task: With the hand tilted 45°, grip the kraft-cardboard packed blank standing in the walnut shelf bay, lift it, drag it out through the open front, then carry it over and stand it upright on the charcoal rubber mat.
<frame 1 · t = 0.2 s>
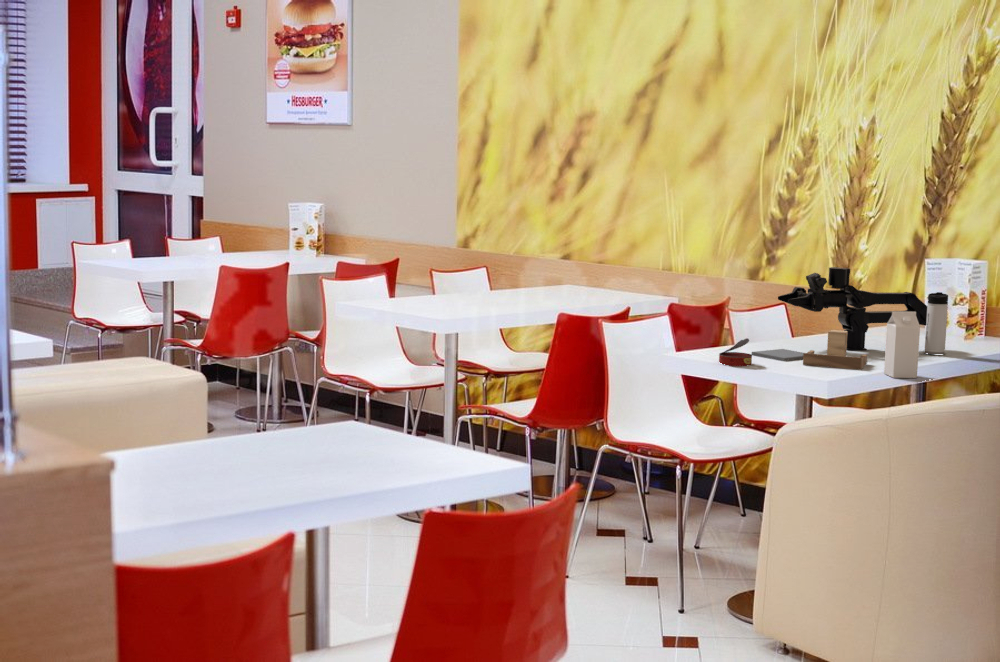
hand: (783, 299, 419), 17 cm above the table, tool horizontal, fingers open, 9 cm apart
packed blank: (836, 363, 395), on the table
shelf bay: (836, 363, 395), on the table
milk carton: (900, 377, 374), on the table
canned food: (735, 364, 391), on the table
travel mug: (934, 354, 418), on the table
mat: (783, 356, 407), on the table
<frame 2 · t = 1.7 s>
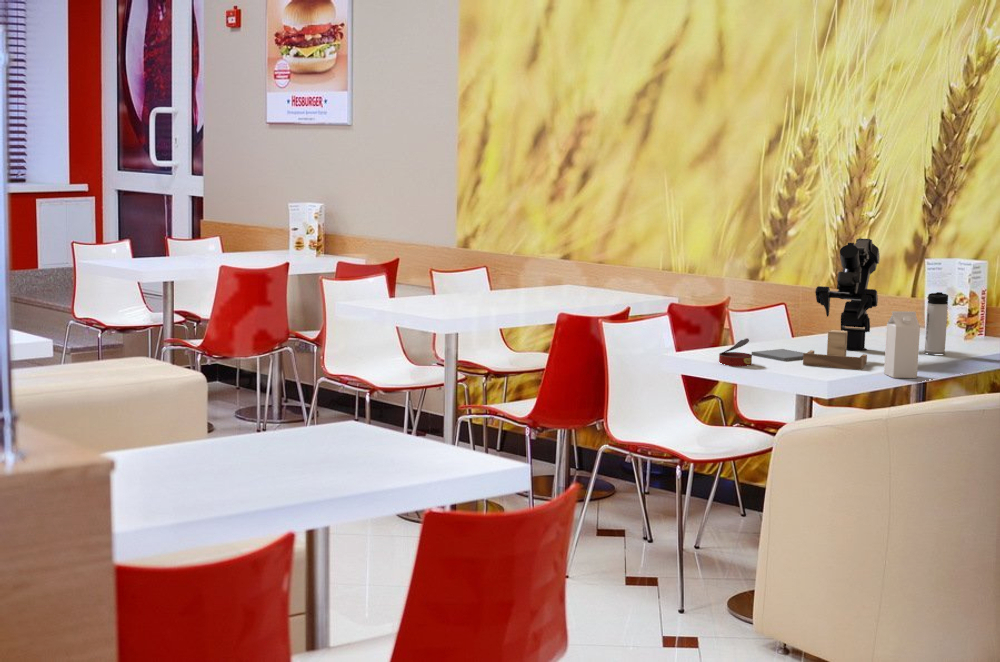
hand: (842, 316, 400), 14 cm above the table, tool tilted 45°, fingers open, 9 cm apart
nothing on the table moved.
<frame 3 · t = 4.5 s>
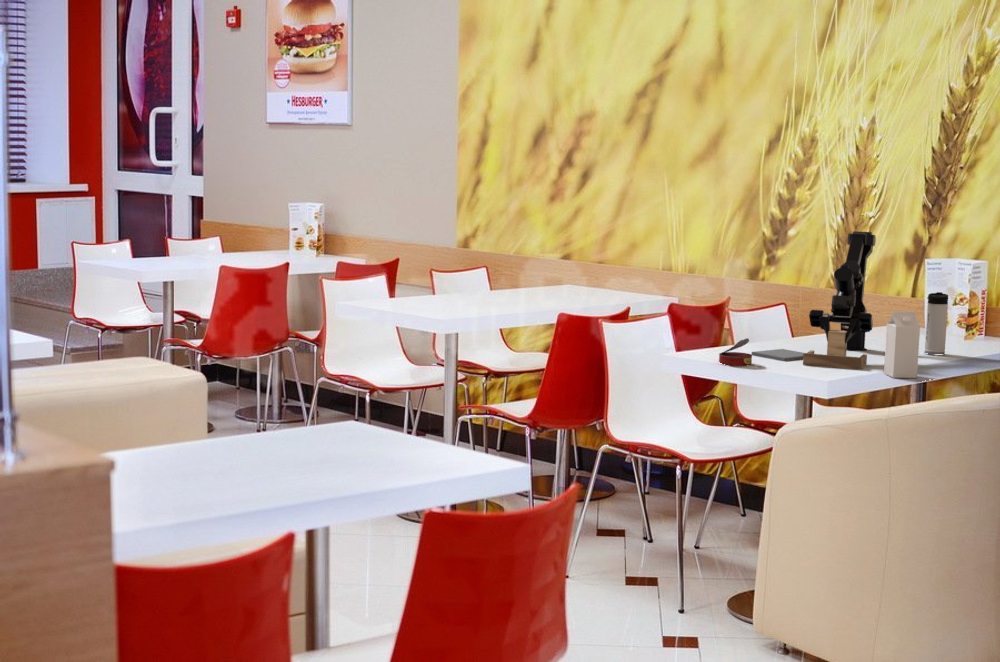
hand: (836, 341, 393), 7 cm above the table, tool tilted 45°, fingers closed on packed blank, 5 cm apart
packed blank: (836, 363, 395), on the table, touching gripper
everything else where it was.
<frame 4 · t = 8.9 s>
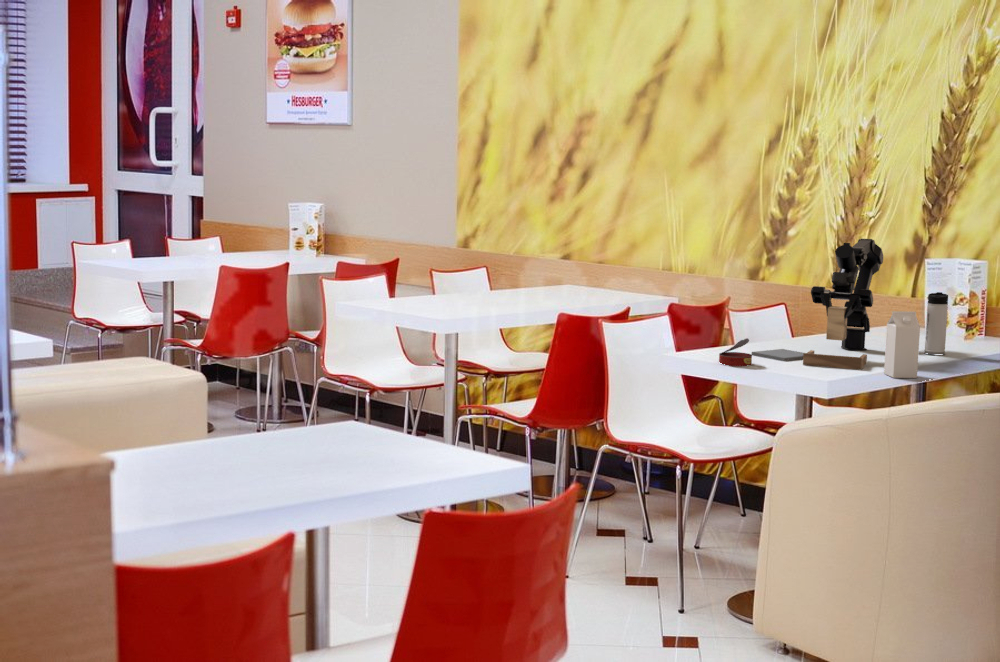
hand: (836, 317, 401), 13 cm above the table, tool tilted 45°, fingers closed on packed blank, 5 cm apart
packed blank: (836, 338, 403), point 6 cm above the table, touching gripper
everything else where it was.
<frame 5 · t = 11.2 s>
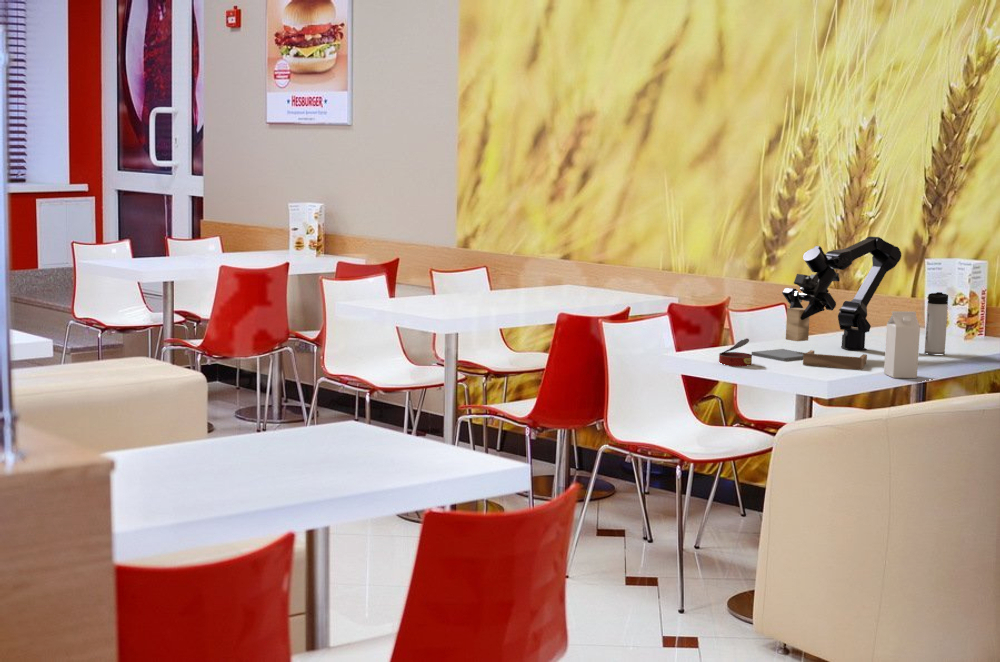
hand: (795, 318, 408), 12 cm above the table, tool tilted 45°, fingers closed on packed blank, 5 cm apart
packed blank: (796, 339, 410), point 5 cm above the table, touching gripper
everything else where it was.
when the fingers open (9 cm above the table, at t = 13.4 s): packed blank stays where it is, resting on mat.
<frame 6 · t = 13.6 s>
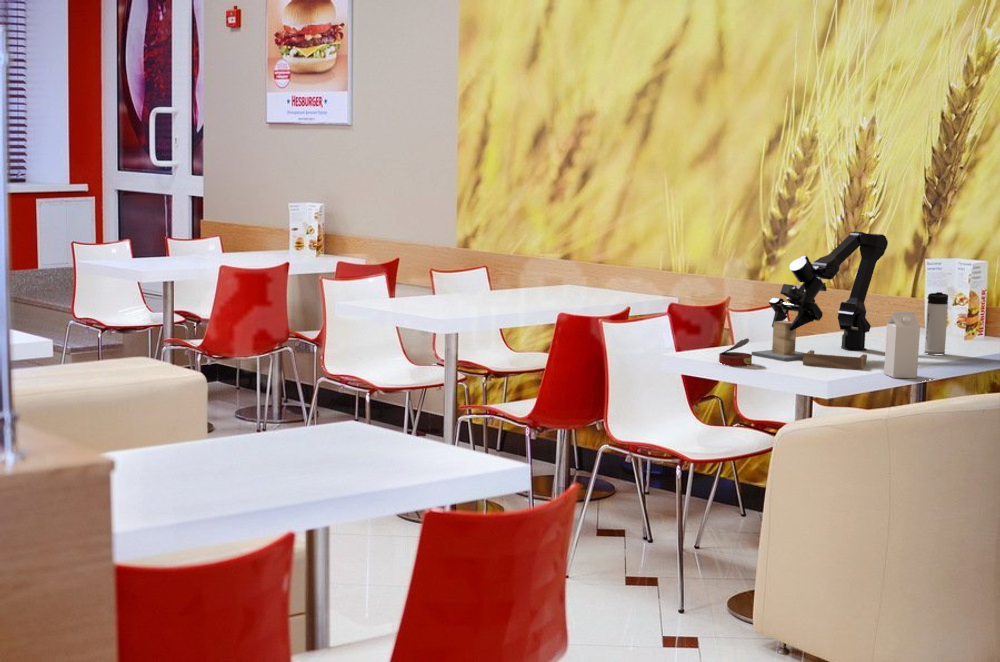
hand: (781, 328, 405), 9 cm above the table, tool tilted 45°, fingers open, 7 cm apart
packed blank: (783, 353, 407), point 1 cm above the table, touching mat
everything else where it was.
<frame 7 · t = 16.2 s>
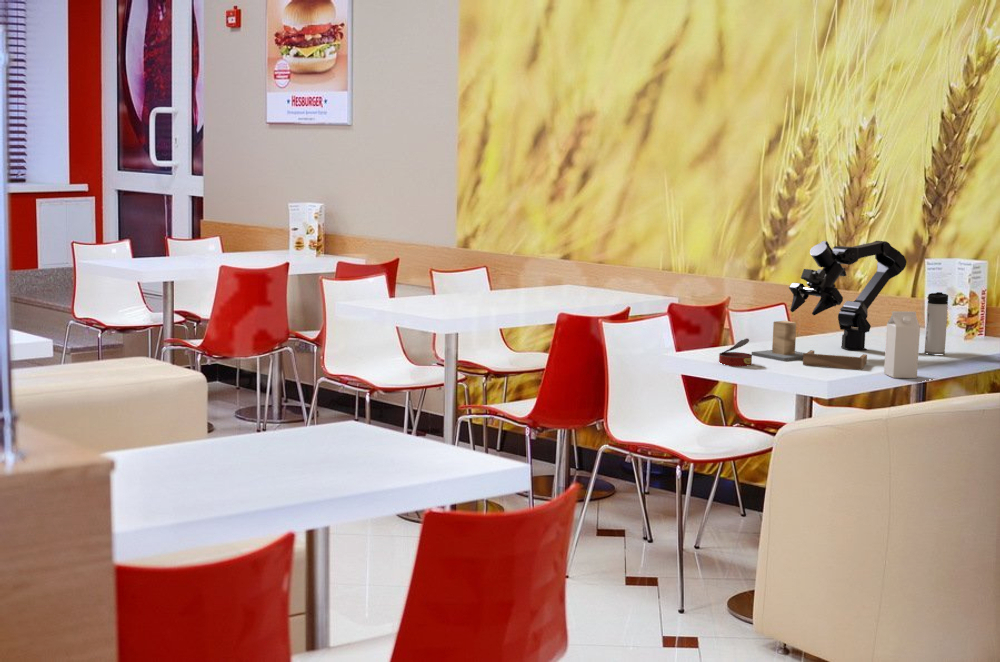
hand: (802, 312, 410), 14 cm above the table, tool tilted 45°, fingers open, 9 cm apart
nothing on the table moved.
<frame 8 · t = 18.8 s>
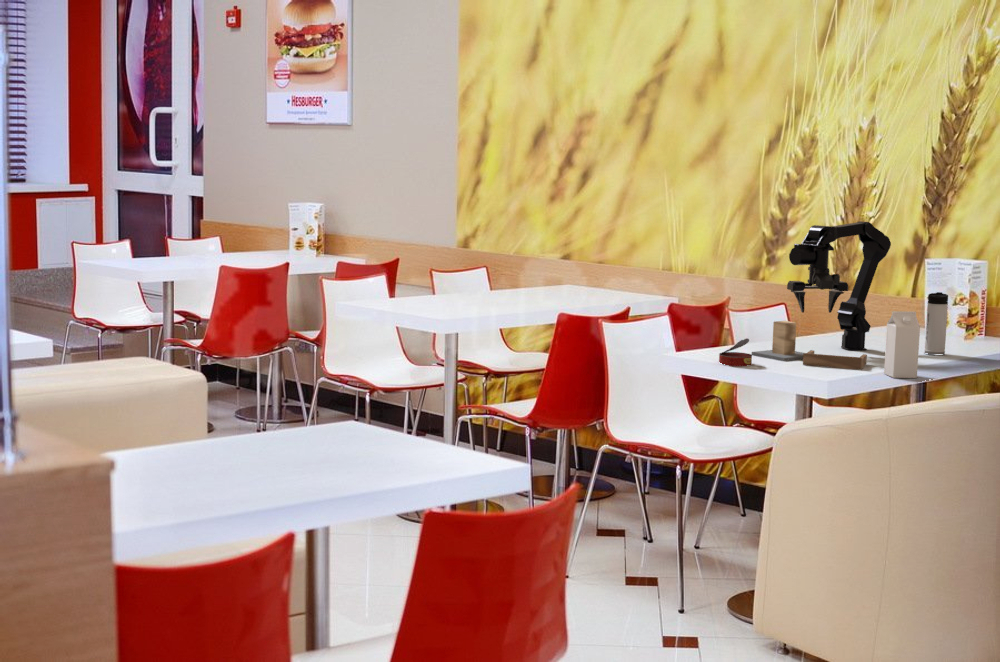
hand: (816, 312, 416), 13 cm above the table, tool pointing down, fingers open, 9 cm apart
nothing on the table moved.
at the end: packed blank inside the target area on the mat (0.0 cm from its centre), point 1.0 cm above the mat's base; packed blank tilted 0°; the gripper is holding nothing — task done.
